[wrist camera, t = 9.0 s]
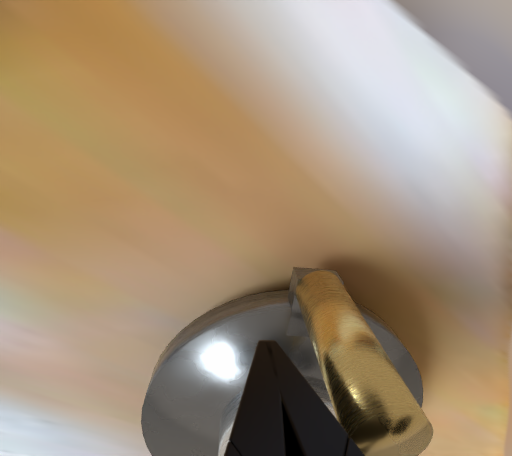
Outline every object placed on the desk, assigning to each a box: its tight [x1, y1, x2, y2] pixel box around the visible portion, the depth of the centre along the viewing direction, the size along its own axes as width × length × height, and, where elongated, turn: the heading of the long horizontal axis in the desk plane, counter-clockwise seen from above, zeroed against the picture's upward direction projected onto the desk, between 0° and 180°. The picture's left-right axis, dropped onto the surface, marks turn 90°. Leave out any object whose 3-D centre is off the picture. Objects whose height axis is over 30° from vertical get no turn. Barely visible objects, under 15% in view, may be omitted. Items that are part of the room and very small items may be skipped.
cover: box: [218, 376, 337, 456], centre depth 14 cm, size 7×7×3 cm
